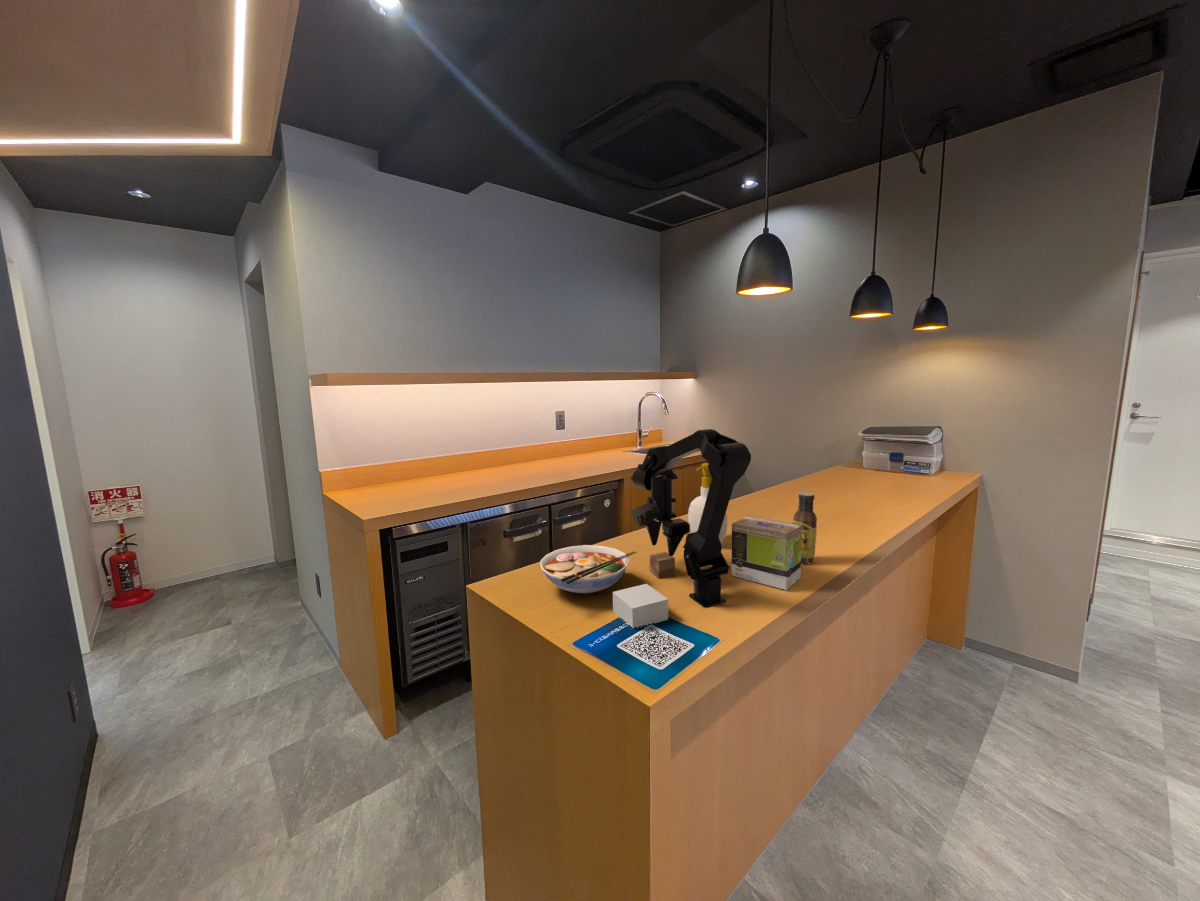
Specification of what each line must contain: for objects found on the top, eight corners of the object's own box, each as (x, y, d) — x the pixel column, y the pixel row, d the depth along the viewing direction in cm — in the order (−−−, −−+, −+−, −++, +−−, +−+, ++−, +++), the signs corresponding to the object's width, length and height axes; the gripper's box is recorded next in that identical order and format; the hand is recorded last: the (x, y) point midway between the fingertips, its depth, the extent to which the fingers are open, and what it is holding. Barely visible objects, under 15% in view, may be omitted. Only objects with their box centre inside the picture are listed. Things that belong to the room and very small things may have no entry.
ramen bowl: (590, 562, 137) (589, 535, 136) (651, 584, 121) (651, 554, 120) (519, 590, 120) (517, 559, 118) (579, 621, 103) (578, 586, 102)
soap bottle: (679, 541, 153) (679, 462, 149) (698, 535, 158) (698, 459, 154) (714, 553, 141) (715, 468, 137) (733, 546, 146) (734, 464, 143)
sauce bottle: (785, 559, 135) (788, 492, 132) (800, 555, 138) (803, 489, 135) (805, 567, 129) (807, 497, 126) (820, 562, 132) (823, 493, 129)
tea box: (801, 579, 122) (803, 524, 120) (786, 592, 115) (788, 534, 113) (747, 564, 132) (748, 514, 130) (729, 576, 125) (730, 522, 123)
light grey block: (668, 620, 103) (668, 599, 102) (632, 630, 99) (632, 608, 99) (646, 603, 111) (646, 583, 110) (613, 612, 107) (612, 591, 107)
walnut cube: (675, 575, 126) (674, 557, 126) (658, 578, 125) (658, 561, 124) (665, 568, 131) (665, 551, 130) (649, 572, 129) (649, 554, 128)
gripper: (619, 490, 130) (620, 544, 132) (651, 505, 113) (652, 567, 115) (655, 486, 134) (655, 538, 136) (691, 500, 117) (691, 560, 119)
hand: (662, 550), depth 127 cm, fingers open, 9 cm apart
